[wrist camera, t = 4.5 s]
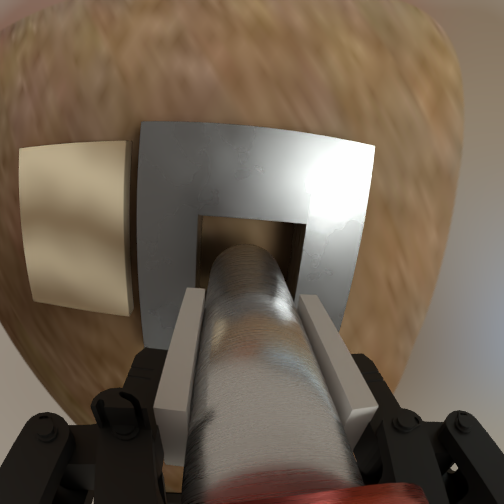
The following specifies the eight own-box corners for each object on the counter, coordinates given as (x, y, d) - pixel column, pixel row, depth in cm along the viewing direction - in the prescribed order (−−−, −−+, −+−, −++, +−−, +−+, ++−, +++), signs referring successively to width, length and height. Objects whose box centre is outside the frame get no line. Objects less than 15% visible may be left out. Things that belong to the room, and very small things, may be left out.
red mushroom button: (289, 325, 18) (365, 569, 4) (191, 319, 18) (151, 582, 3) (304, 231, 16) (502, 480, 2) (194, 222, 16) (64, 532, 1)
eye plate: (316, 351, 23) (325, 374, 20) (155, 342, 22) (146, 366, 19) (355, 146, 18) (375, 146, 15) (155, 125, 17) (141, 121, 14)
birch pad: (133, 308, 21) (129, 316, 20) (40, 294, 20) (33, 300, 19) (132, 141, 17) (125, 140, 16) (28, 147, 16) (19, 148, 15)
